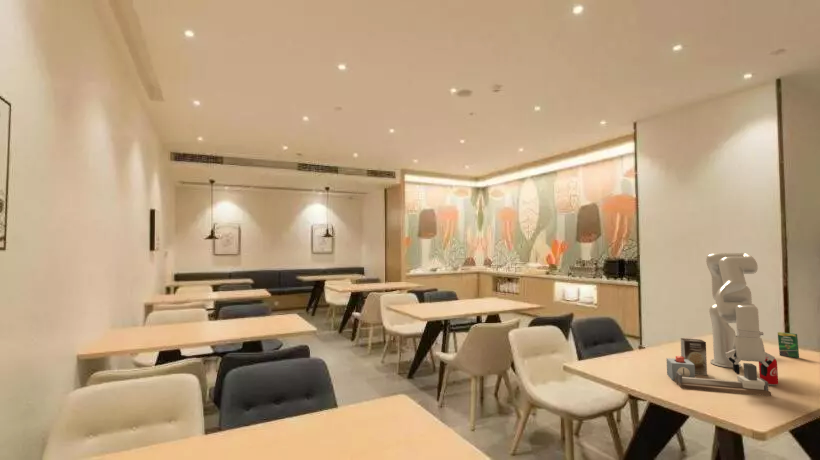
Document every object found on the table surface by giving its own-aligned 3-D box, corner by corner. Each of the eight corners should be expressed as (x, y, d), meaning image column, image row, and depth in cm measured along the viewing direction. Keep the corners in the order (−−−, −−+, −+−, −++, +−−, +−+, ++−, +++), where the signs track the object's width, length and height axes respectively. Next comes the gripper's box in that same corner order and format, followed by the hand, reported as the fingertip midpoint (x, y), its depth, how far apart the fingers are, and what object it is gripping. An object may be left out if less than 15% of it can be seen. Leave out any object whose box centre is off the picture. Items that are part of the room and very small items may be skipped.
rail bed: (675, 381, 182) (674, 370, 182) (760, 388, 171) (759, 377, 171) (681, 388, 173) (680, 376, 173) (771, 396, 163) (770, 383, 163)
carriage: (737, 383, 173) (736, 361, 174) (756, 385, 171) (755, 363, 171) (744, 388, 166) (743, 366, 167) (765, 390, 164) (764, 367, 165)
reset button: (674, 362, 189) (674, 355, 189) (683, 362, 187) (682, 356, 188) (677, 364, 185) (676, 357, 186) (685, 364, 184) (685, 358, 184)
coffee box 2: (778, 355, 224) (777, 331, 224) (780, 354, 225) (779, 331, 226) (797, 358, 217) (796, 334, 217) (799, 357, 218) (798, 333, 219)
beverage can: (782, 386, 174) (780, 359, 174) (765, 385, 175) (764, 358, 176) (772, 381, 180) (770, 355, 180) (756, 381, 181) (755, 354, 182)
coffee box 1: (685, 373, 193) (684, 340, 194) (681, 369, 199) (679, 338, 200) (707, 375, 190) (706, 342, 191) (702, 371, 196) (701, 339, 197)
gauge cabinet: (667, 374, 192) (666, 358, 192) (688, 376, 189) (687, 359, 189) (672, 380, 183) (672, 363, 183) (695, 382, 180) (694, 364, 180)
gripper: (768, 333, 170) (770, 373, 170) (720, 331, 176) (722, 370, 175) (777, 337, 163) (780, 379, 162) (727, 334, 169) (729, 375, 168)
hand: (750, 374), depth 169 cm, fingers open, 9 cm apart
